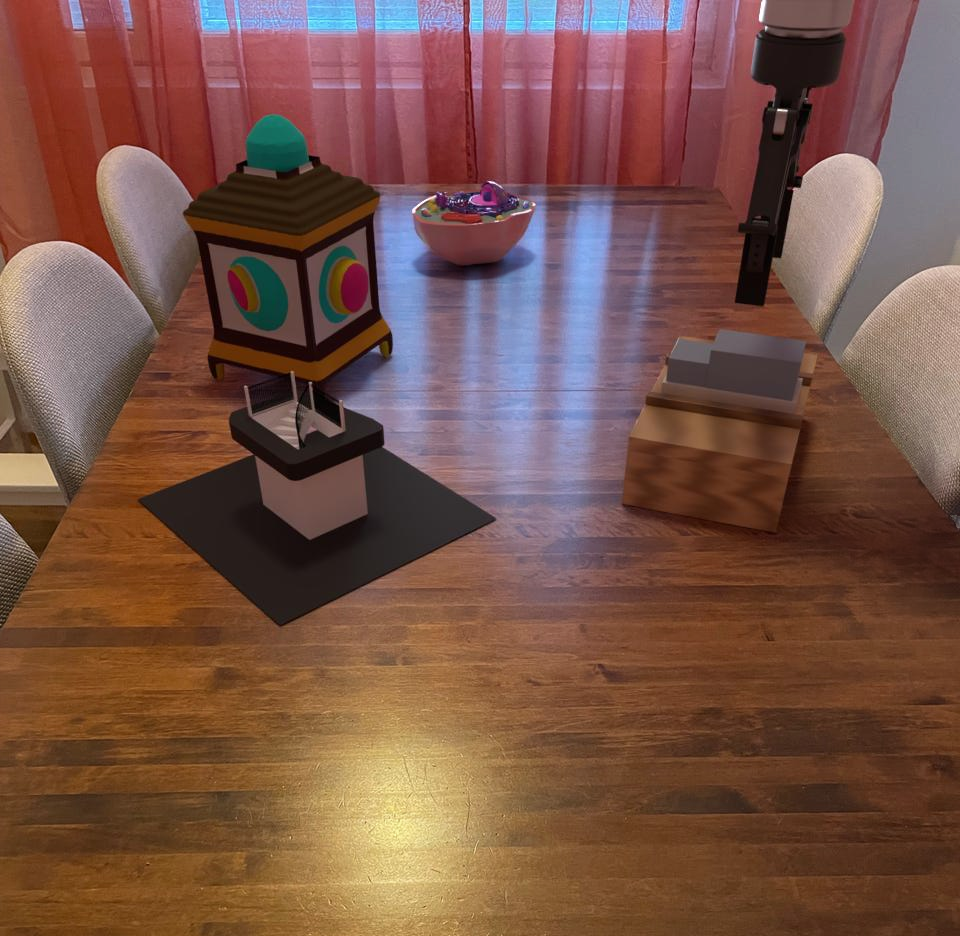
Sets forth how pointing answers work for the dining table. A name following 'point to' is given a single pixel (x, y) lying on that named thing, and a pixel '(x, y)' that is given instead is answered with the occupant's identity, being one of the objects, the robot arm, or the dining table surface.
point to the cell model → (473, 223)
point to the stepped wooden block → (713, 456)
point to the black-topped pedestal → (310, 504)
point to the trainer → (738, 370)
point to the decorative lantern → (289, 262)
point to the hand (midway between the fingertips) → (759, 278)
